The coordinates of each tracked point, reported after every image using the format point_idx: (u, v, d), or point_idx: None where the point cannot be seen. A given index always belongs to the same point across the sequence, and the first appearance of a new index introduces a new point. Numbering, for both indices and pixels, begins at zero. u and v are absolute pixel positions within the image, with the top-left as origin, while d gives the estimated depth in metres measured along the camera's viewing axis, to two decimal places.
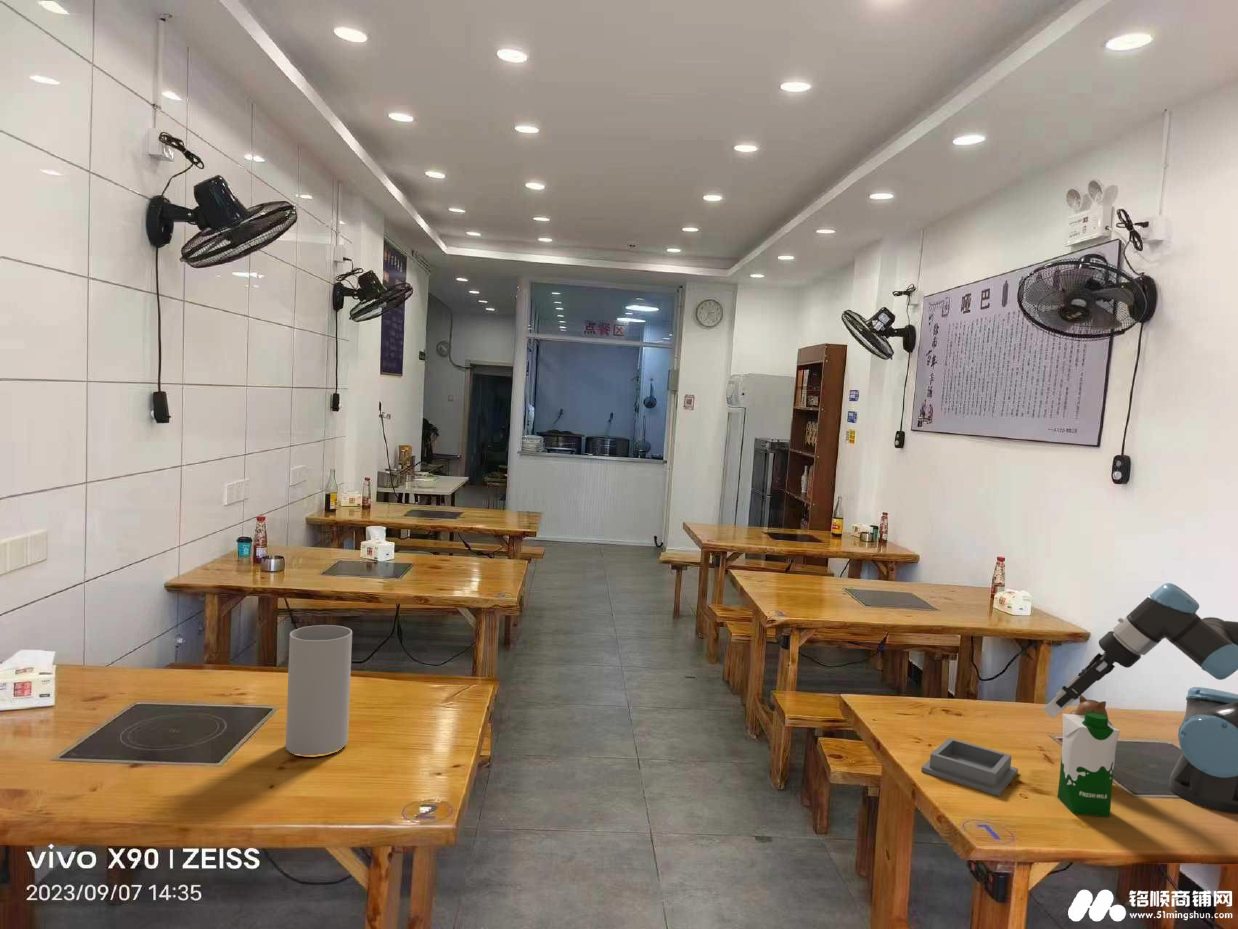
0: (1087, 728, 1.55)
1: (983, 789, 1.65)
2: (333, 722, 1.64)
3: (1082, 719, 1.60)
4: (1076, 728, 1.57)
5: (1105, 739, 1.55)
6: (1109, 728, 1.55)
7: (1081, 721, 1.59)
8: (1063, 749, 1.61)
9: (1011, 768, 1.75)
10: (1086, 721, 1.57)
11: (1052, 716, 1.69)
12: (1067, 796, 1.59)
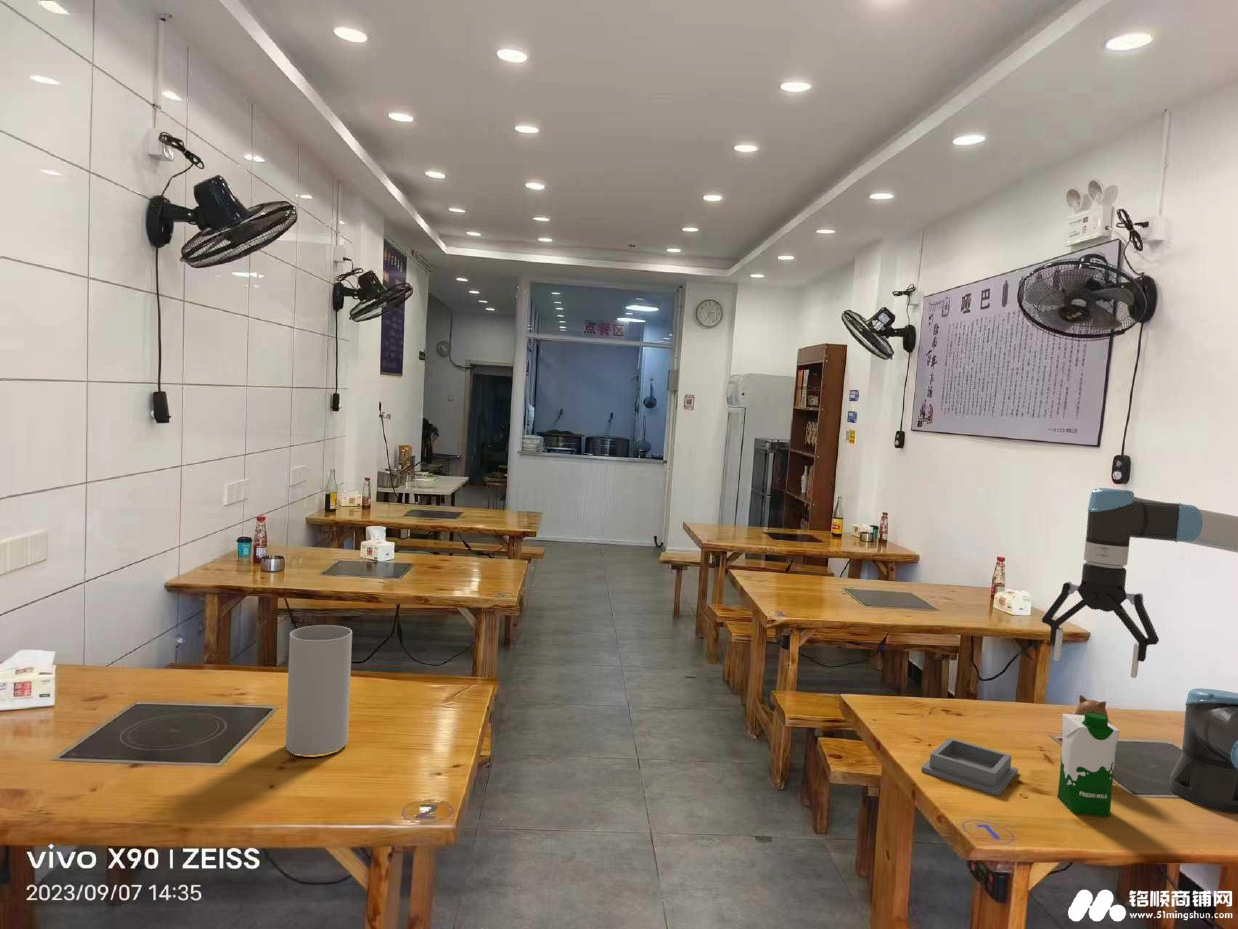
0: (1087, 728, 1.55)
1: (983, 789, 1.65)
2: (333, 722, 1.64)
3: (1082, 719, 1.60)
4: (1076, 728, 1.57)
5: (1105, 739, 1.55)
6: (1109, 728, 1.55)
7: (1081, 721, 1.59)
8: (1063, 749, 1.61)
9: (1011, 768, 1.75)
10: (1086, 721, 1.57)
11: None
12: (1067, 796, 1.59)
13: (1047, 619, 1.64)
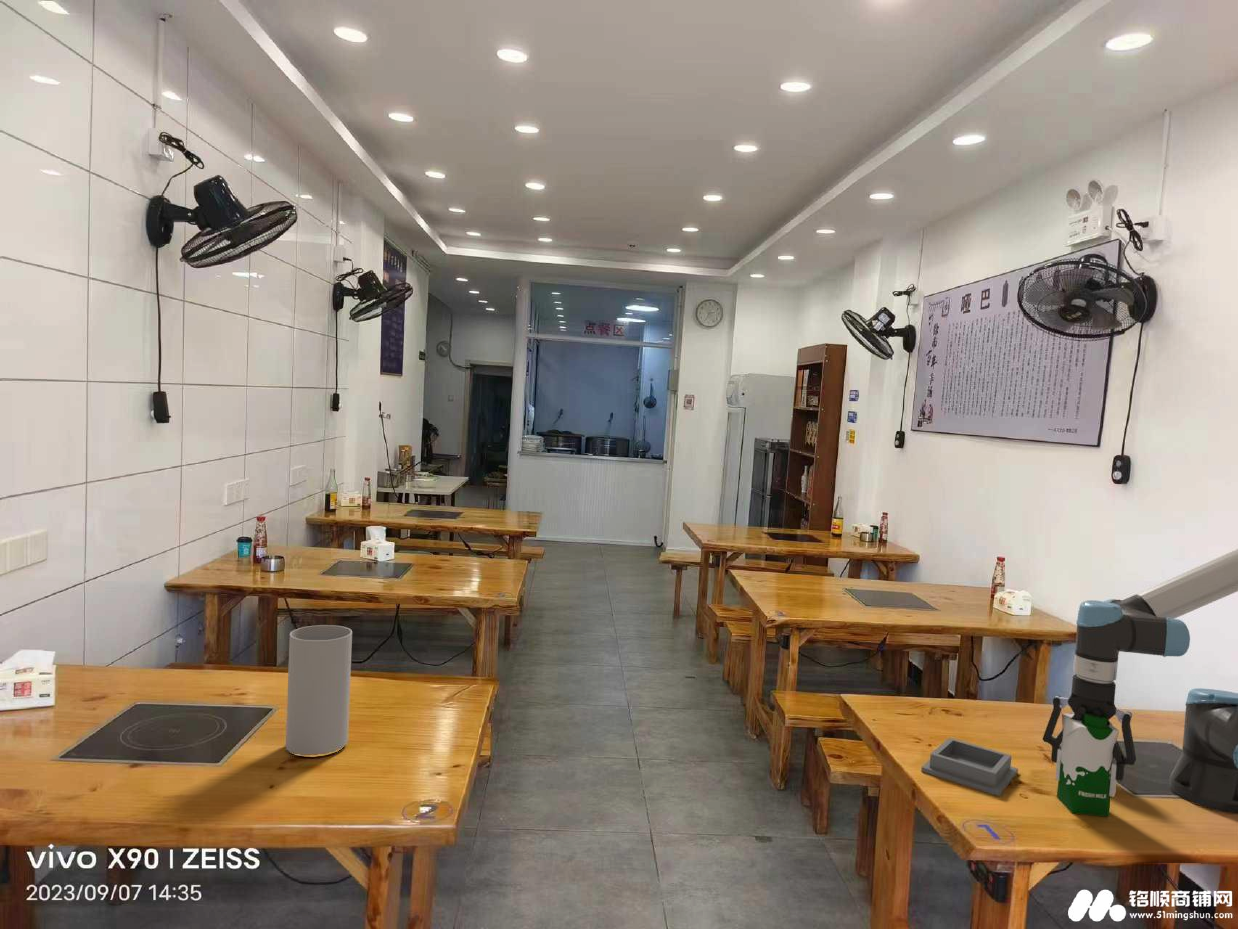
0: (1086, 728, 1.55)
1: (983, 789, 1.65)
2: (333, 722, 1.64)
3: None
4: (1076, 728, 1.57)
5: (1105, 738, 1.55)
6: (1108, 728, 1.56)
7: (1080, 721, 1.59)
8: (1062, 749, 1.61)
9: (1011, 768, 1.75)
10: (1085, 721, 1.57)
11: (1115, 791, 1.57)
12: (1066, 795, 1.59)
13: (1048, 737, 1.63)
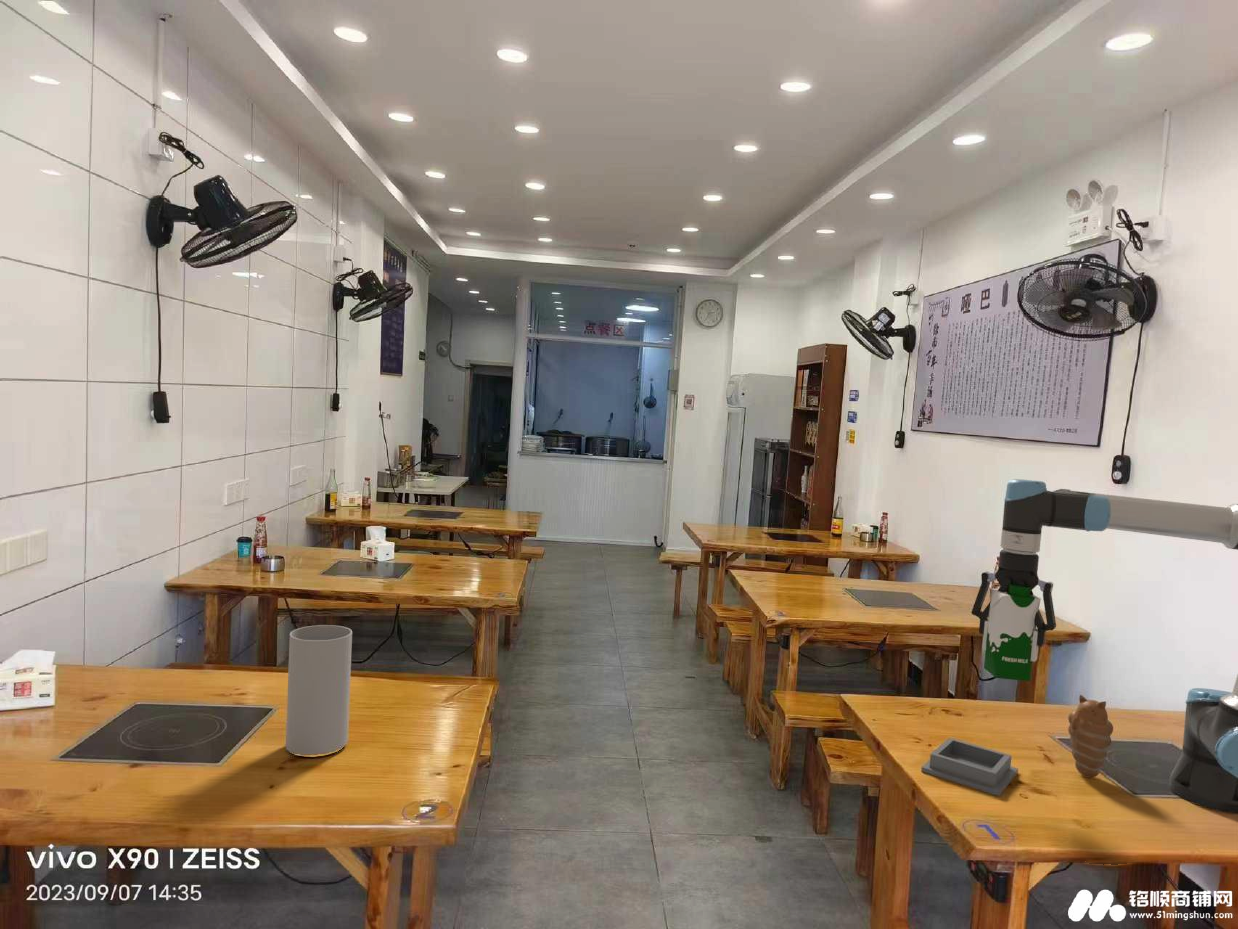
0: (1010, 596, 1.64)
1: (983, 789, 1.65)
2: (333, 722, 1.64)
3: None
4: (1001, 597, 1.65)
5: (1027, 606, 1.64)
6: (1031, 597, 1.64)
7: (1006, 592, 1.67)
8: (989, 620, 1.69)
9: (1011, 768, 1.75)
10: (1010, 591, 1.66)
11: (1036, 658, 1.66)
12: (991, 662, 1.67)
13: (976, 611, 1.72)
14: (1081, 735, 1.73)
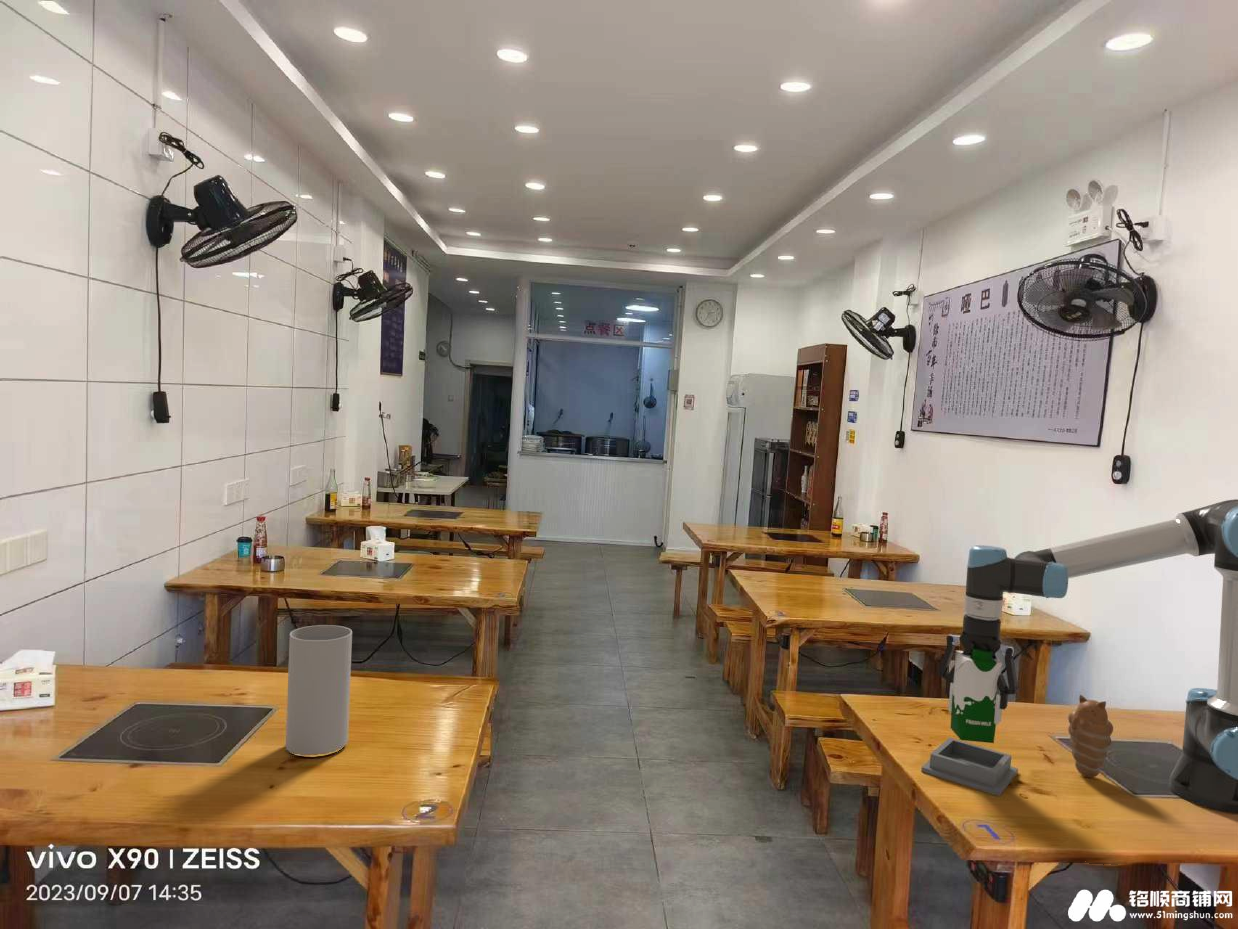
0: (973, 661, 1.69)
1: (983, 789, 1.65)
2: (333, 722, 1.64)
3: None
4: (964, 661, 1.70)
5: (989, 670, 1.69)
6: (993, 661, 1.69)
7: (969, 656, 1.72)
8: (954, 682, 1.74)
9: (1011, 768, 1.75)
10: (973, 655, 1.71)
11: (1000, 720, 1.71)
12: (956, 724, 1.72)
13: (942, 672, 1.77)
14: (1081, 735, 1.73)
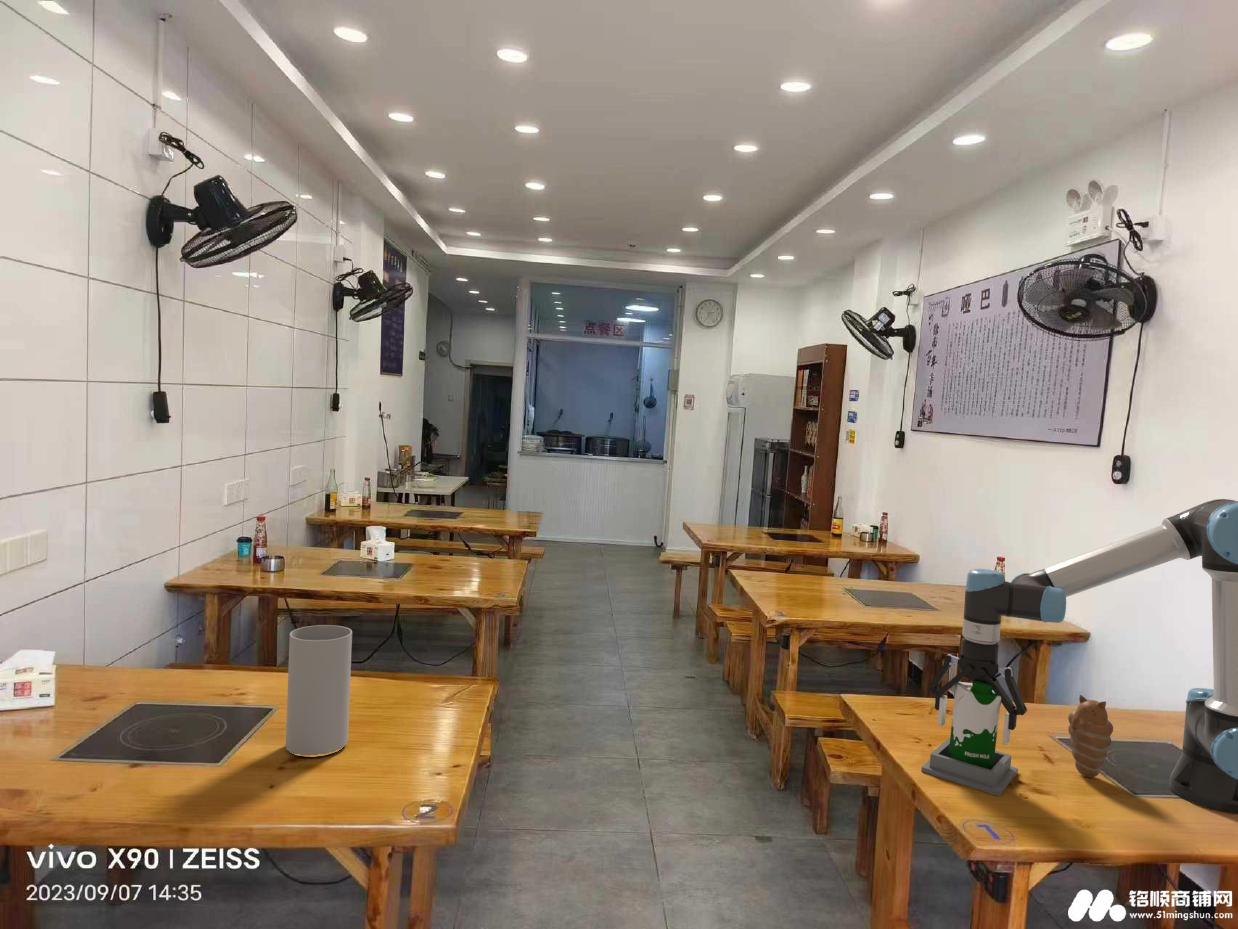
0: (973, 694, 1.69)
1: (983, 789, 1.65)
2: (333, 722, 1.64)
3: (971, 686, 1.74)
4: (964, 694, 1.70)
5: (989, 704, 1.69)
6: (993, 694, 1.69)
7: (969, 688, 1.73)
8: (953, 713, 1.74)
9: (1011, 768, 1.75)
10: (973, 687, 1.71)
11: (1009, 740, 1.70)
12: (955, 756, 1.73)
13: (932, 688, 1.78)
14: (1081, 735, 1.73)
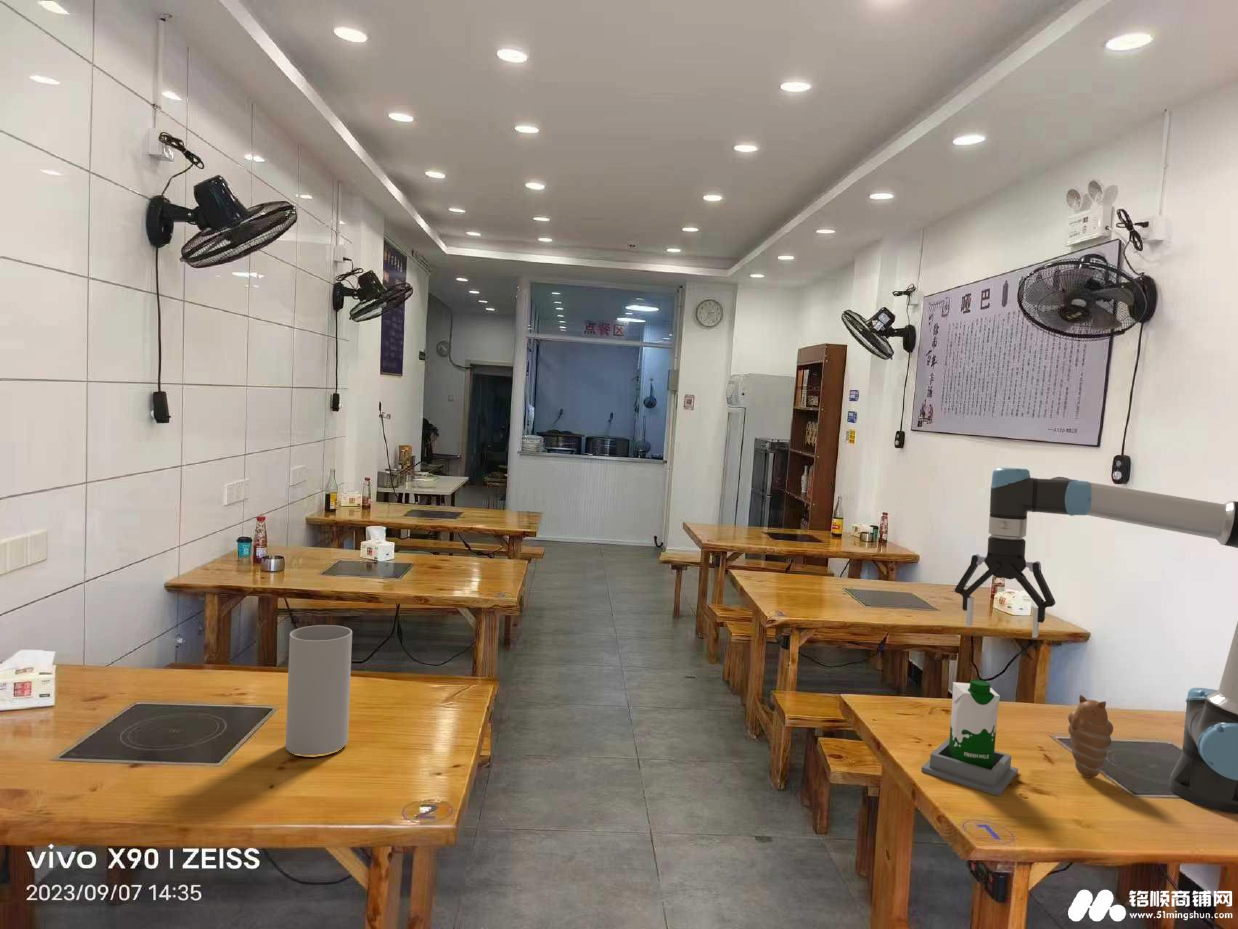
0: (970, 694, 1.69)
1: (983, 789, 1.65)
2: (333, 722, 1.64)
3: (969, 686, 1.74)
4: (962, 694, 1.71)
5: (987, 703, 1.69)
6: (991, 694, 1.70)
7: (967, 688, 1.73)
8: (952, 714, 1.75)
9: (1011, 768, 1.75)
10: (970, 688, 1.71)
11: None
12: (954, 757, 1.73)
13: (959, 589, 1.79)
14: (1081, 735, 1.73)
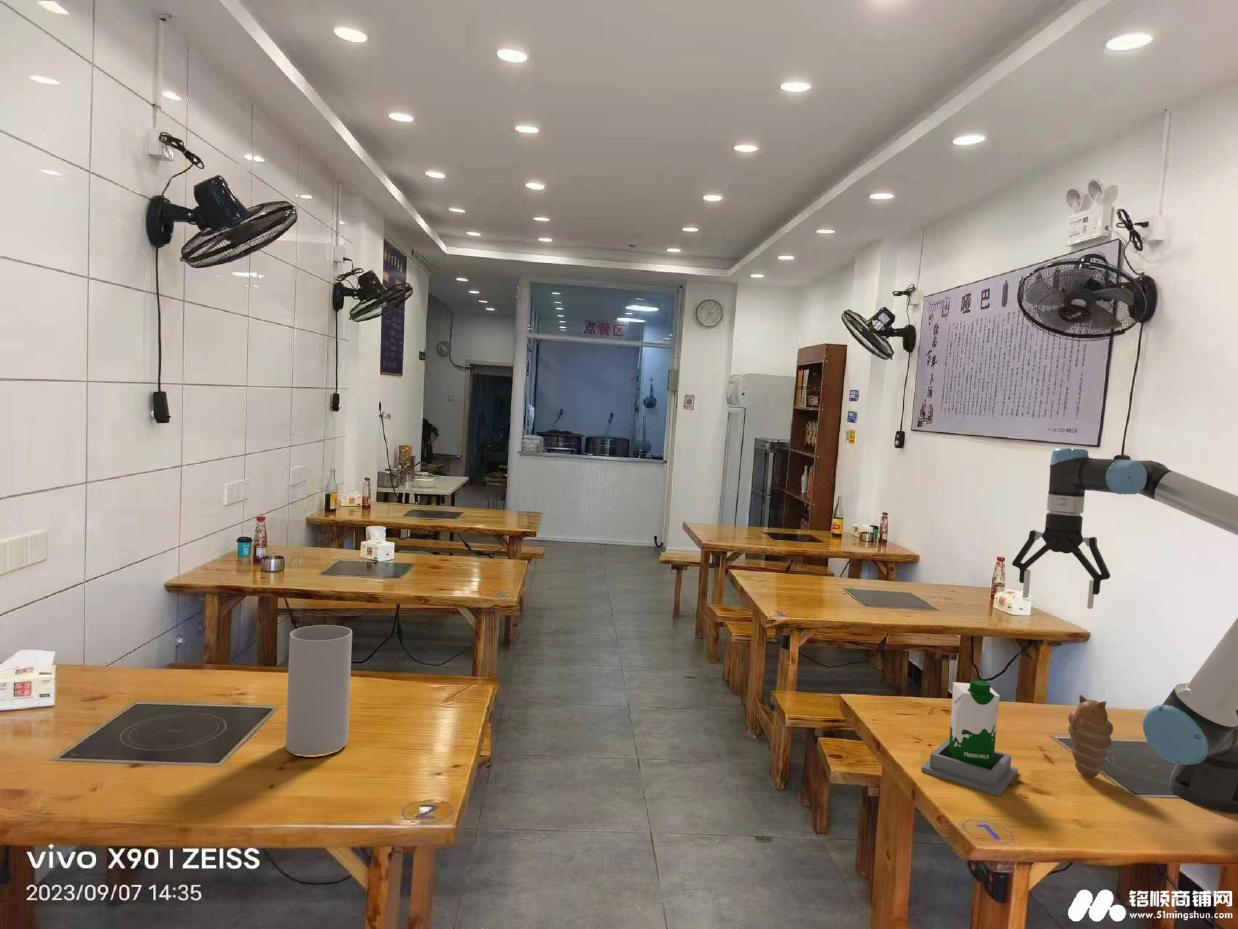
0: (970, 694, 1.69)
1: (983, 789, 1.65)
2: (333, 722, 1.64)
3: (969, 686, 1.74)
4: (962, 694, 1.71)
5: (987, 703, 1.69)
6: (991, 694, 1.70)
7: (967, 688, 1.73)
8: (952, 714, 1.75)
9: (1011, 768, 1.75)
10: (970, 688, 1.71)
11: (1092, 606, 1.81)
12: (954, 757, 1.73)
13: (1016, 562, 1.89)
14: (1081, 735, 1.73)
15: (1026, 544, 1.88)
